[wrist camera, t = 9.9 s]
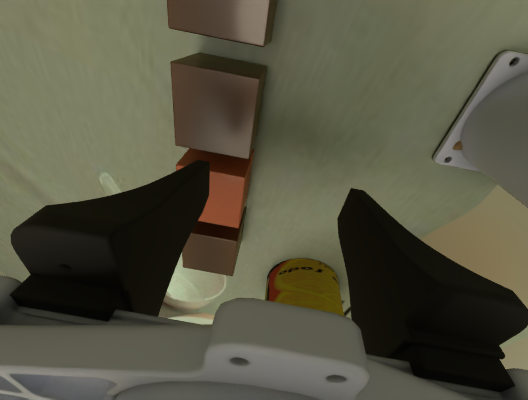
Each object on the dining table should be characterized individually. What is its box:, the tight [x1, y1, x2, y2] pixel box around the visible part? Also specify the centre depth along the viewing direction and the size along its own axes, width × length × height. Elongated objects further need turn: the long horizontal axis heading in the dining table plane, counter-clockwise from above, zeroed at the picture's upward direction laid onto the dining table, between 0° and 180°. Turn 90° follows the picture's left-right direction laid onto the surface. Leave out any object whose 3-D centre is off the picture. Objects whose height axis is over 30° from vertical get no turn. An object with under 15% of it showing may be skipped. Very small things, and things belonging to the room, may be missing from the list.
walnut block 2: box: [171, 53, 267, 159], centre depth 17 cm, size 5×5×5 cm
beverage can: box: [265, 258, 344, 316], centre depth 27 cm, size 9×9×12 cm
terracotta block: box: [176, 148, 254, 228], centre depth 21 cm, size 5×5×5 cm
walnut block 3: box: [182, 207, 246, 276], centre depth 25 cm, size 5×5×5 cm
